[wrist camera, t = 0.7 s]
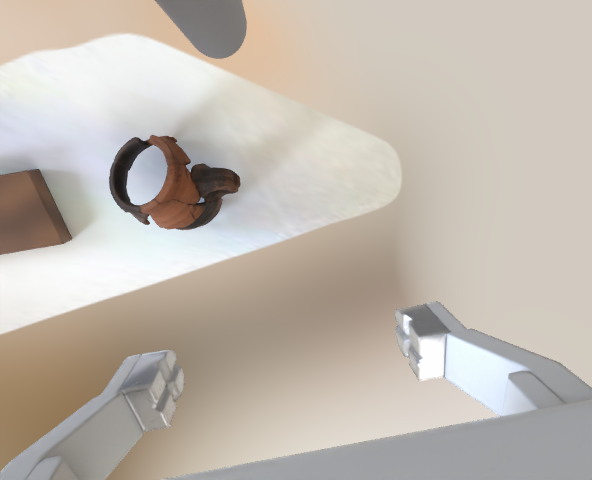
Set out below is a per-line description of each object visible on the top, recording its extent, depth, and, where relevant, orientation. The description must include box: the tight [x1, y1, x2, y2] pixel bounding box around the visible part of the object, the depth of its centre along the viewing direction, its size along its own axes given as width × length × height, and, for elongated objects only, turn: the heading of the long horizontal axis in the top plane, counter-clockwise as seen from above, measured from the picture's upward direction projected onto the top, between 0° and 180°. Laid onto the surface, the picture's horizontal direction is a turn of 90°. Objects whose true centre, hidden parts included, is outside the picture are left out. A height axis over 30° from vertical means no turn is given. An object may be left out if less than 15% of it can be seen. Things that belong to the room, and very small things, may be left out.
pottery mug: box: [109, 135, 240, 230], centre depth 28 cm, size 12×10×8 cm
